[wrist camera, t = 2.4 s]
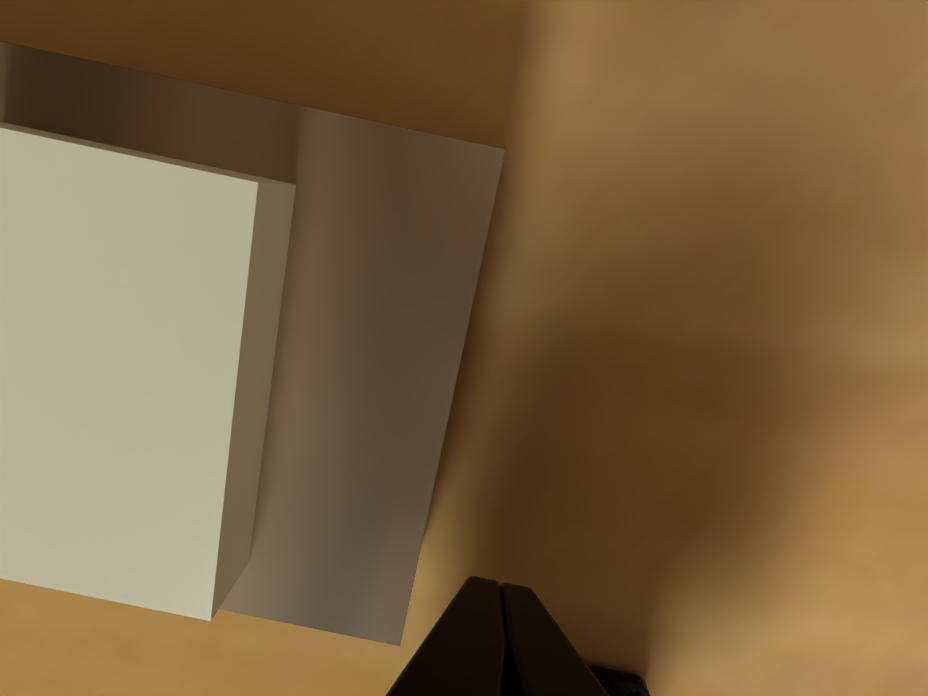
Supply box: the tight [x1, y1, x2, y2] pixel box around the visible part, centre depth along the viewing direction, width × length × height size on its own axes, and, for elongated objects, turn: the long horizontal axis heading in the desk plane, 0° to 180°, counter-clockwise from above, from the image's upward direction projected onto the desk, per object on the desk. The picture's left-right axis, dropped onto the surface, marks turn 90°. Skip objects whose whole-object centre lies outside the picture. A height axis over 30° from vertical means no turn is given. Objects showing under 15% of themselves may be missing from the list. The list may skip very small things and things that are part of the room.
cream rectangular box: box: [0, 122, 296, 621], centre depth 12 cm, size 6×9×2 cm, turn 168°
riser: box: [0, 41, 506, 646], centre depth 15 cm, size 16×12×4 cm
